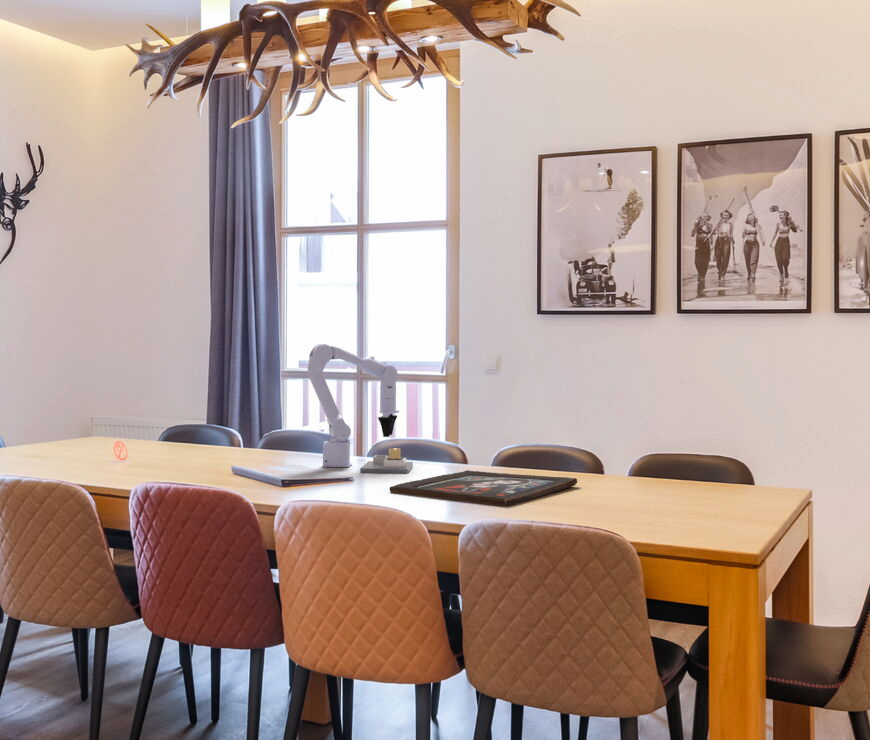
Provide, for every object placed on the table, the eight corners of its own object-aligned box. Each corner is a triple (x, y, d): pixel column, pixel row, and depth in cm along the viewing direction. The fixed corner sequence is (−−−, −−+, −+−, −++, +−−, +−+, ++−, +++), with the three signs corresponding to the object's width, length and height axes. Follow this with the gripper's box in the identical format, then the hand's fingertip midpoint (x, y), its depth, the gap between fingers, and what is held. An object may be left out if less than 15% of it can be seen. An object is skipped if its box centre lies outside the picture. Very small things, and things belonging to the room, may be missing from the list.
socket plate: (360, 472, 293) (360, 460, 293) (368, 465, 313) (368, 454, 313) (407, 473, 292) (407, 461, 292) (412, 466, 312) (412, 454, 312)
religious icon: (580, 486, 267) (580, 476, 266) (509, 509, 229) (509, 497, 229) (468, 477, 289) (468, 467, 289) (386, 496, 251) (386, 485, 251)
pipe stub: (388, 466, 298) (388, 449, 298) (388, 465, 302) (389, 448, 302) (400, 466, 298) (400, 449, 298) (400, 465, 302) (400, 448, 302)
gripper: (396, 399, 308) (396, 437, 309) (401, 397, 323) (401, 434, 323) (376, 399, 309) (376, 437, 309) (382, 397, 323) (382, 434, 324)
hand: (387, 435), depth 316 cm, fingers open, 7 cm apart
